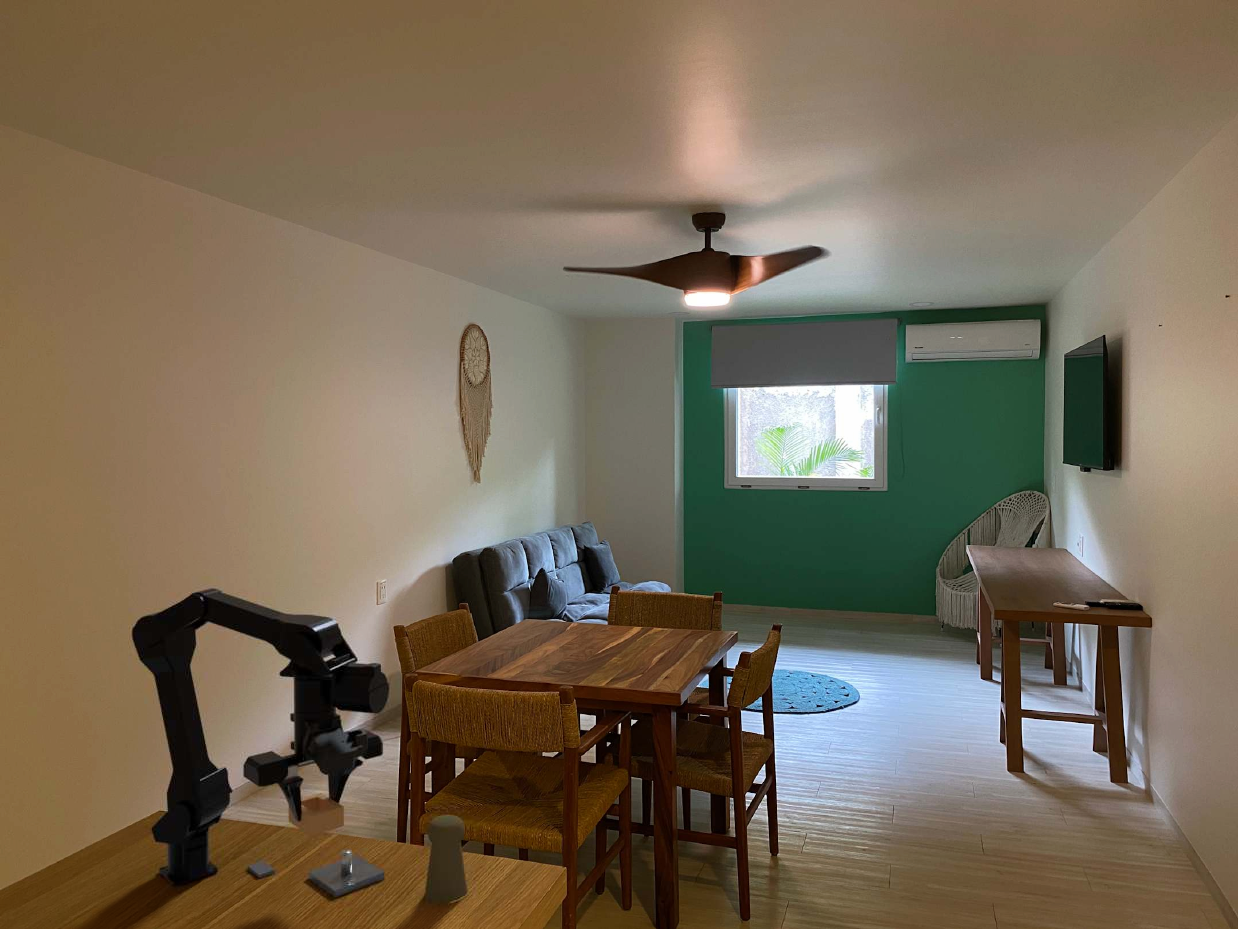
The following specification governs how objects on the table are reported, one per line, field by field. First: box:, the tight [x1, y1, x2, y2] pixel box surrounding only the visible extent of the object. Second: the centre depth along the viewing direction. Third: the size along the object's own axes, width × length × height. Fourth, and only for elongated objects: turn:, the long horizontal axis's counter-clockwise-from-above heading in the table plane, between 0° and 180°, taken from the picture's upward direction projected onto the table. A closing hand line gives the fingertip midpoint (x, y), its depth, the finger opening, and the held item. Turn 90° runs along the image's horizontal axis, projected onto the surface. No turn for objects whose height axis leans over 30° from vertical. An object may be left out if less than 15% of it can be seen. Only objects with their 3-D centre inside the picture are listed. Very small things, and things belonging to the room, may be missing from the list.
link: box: [288, 792, 345, 837], centre depth 134 cm, size 7×5×3 cm
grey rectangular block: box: [247, 860, 276, 879], centre depth 141 cm, size 4×2×1 cm, turn 45°
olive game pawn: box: [424, 814, 468, 905], centre depth 134 cm, size 6×6×11 cm
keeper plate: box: [307, 849, 386, 898], centre depth 139 cm, size 8×8×4 cm
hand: (316, 815), depth 134 cm, fingers closed on link, 5 cm apart
